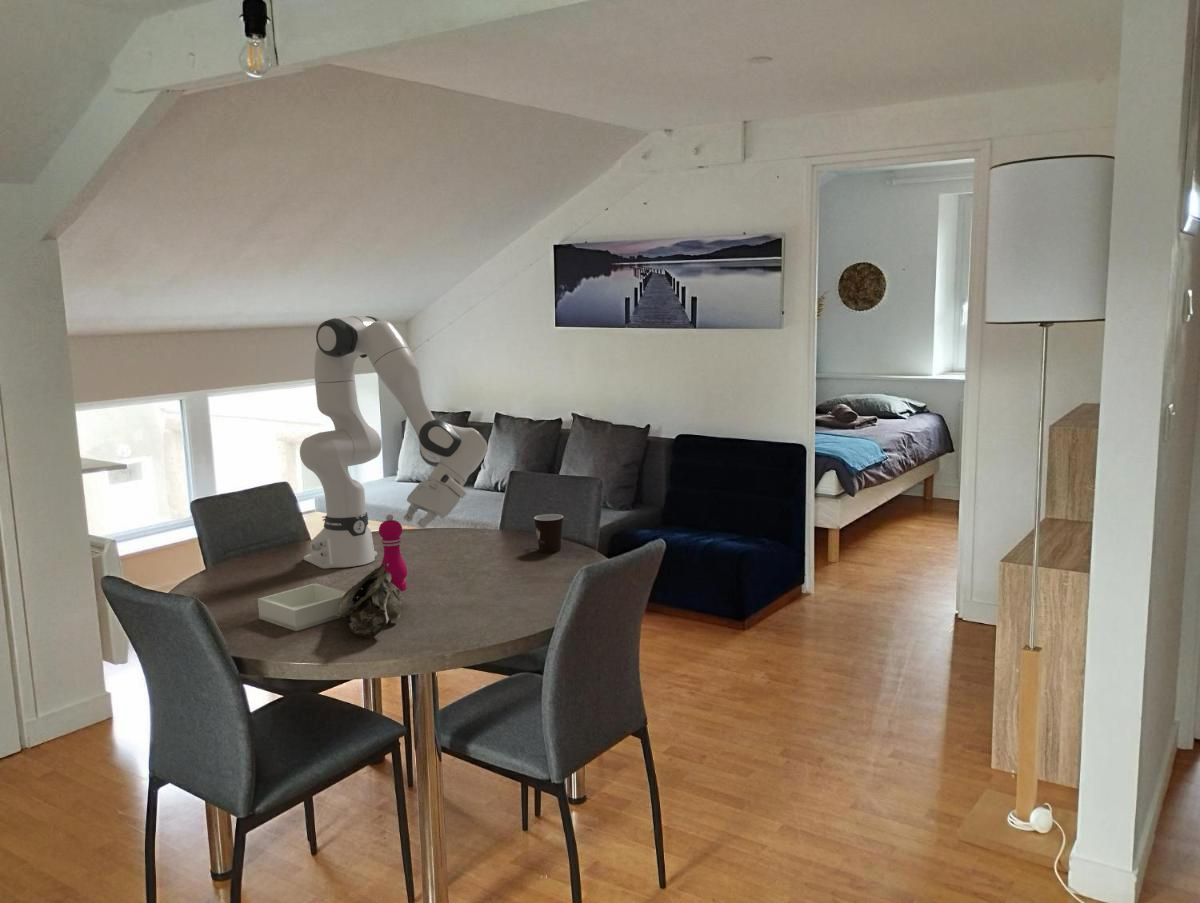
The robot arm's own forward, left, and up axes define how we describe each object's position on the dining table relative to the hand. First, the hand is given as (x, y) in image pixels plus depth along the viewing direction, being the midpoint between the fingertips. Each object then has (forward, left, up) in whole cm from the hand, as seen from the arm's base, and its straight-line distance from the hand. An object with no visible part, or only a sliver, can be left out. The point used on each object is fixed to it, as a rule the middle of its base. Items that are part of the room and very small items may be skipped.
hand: (413, 523), depth 264 cm
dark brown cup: (+3, +48, -17) cm, 51 cm away
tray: (-1, -33, -17) cm, 37 cm away
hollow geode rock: (+18, -29, -17) cm, 38 cm away
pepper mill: (-2, -6, -17) cm, 18 cm away
